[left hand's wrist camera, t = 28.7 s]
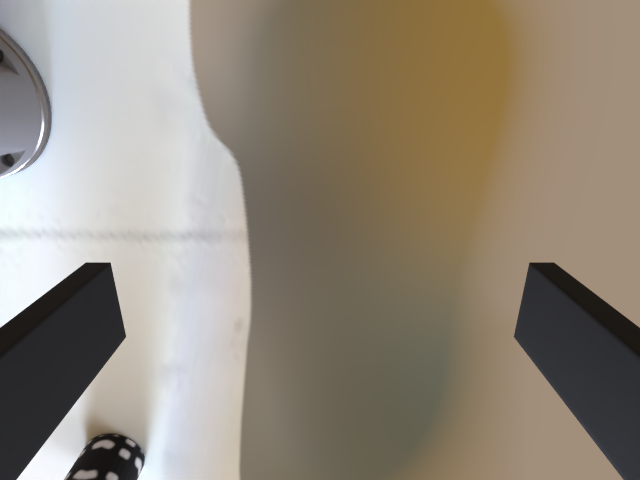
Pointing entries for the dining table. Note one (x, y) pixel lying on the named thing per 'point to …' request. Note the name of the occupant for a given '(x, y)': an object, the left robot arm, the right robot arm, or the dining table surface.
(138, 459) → the black white spotted cylinder
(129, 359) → the dining table surface
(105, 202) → the dining table surface
